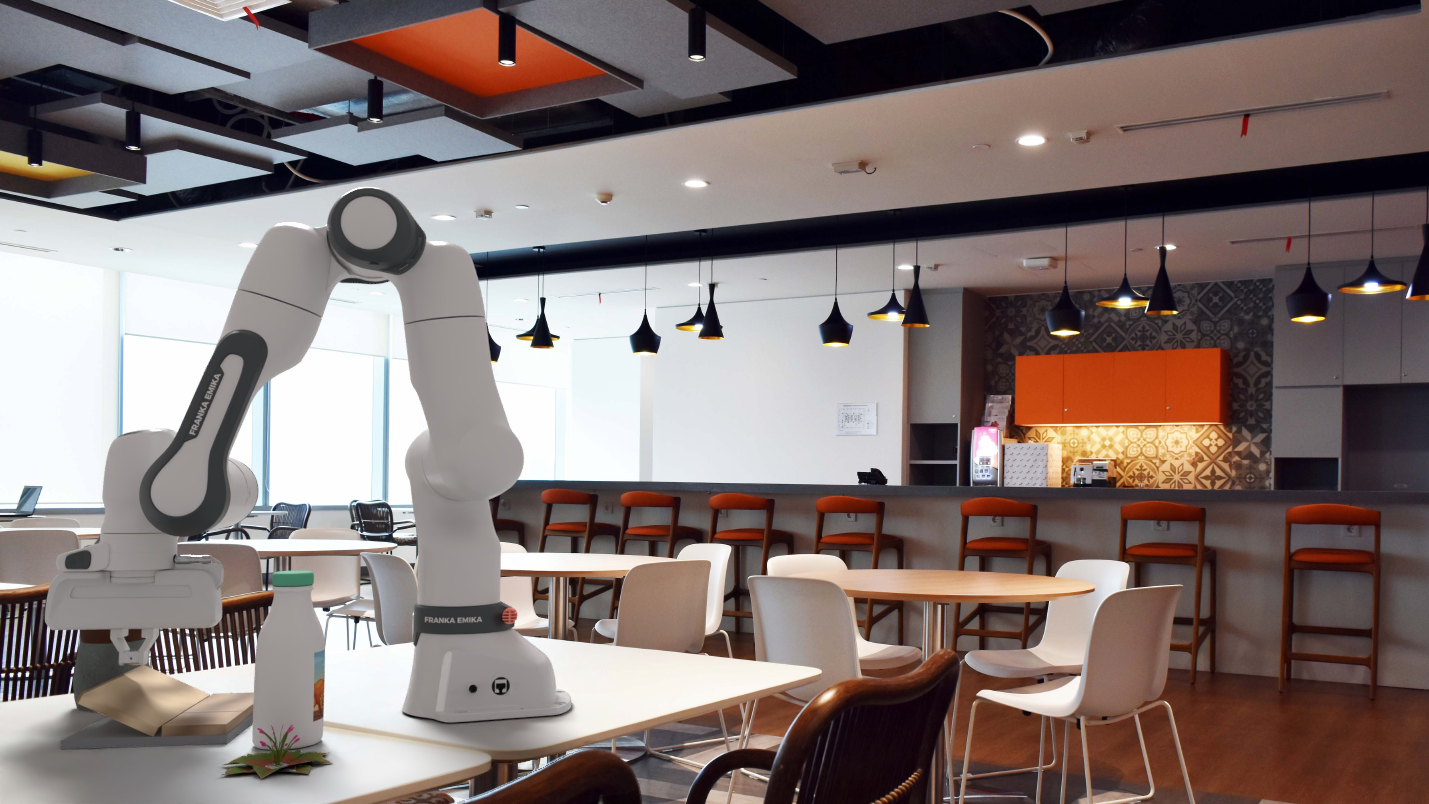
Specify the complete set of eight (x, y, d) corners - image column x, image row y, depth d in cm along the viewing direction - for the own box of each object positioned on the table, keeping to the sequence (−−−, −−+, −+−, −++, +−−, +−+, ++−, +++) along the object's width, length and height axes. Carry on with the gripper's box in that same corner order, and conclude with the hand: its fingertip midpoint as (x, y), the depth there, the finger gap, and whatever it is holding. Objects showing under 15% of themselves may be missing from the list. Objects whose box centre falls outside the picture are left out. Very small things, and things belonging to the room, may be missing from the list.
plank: (205, 702, 143) (210, 694, 143) (153, 736, 124) (158, 727, 124) (139, 672, 142) (143, 664, 142) (75, 702, 123) (80, 692, 123)
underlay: (270, 708, 144) (270, 700, 145) (227, 743, 125) (227, 734, 125) (127, 712, 142) (128, 704, 142) (60, 749, 122) (60, 740, 122)
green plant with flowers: (347, 755, 122) (348, 714, 122) (320, 783, 110) (322, 738, 110) (237, 757, 120) (239, 715, 121) (198, 786, 108) (200, 740, 109)
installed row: (268, 701, 144) (268, 691, 144) (226, 734, 125) (226, 723, 125) (213, 702, 143) (213, 693, 143) (161, 736, 124) (161, 725, 124)
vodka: (54, 710, 143) (65, 486, 145) (112, 697, 152) (121, 486, 154) (108, 714, 140) (118, 486, 142) (164, 701, 149) (173, 486, 151)
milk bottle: (298, 753, 120) (304, 574, 122) (237, 749, 122) (243, 573, 123) (335, 737, 128) (340, 569, 129) (277, 734, 129) (283, 568, 131)
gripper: (231, 553, 142) (227, 659, 140) (64, 553, 138) (58, 662, 137) (217, 556, 135) (212, 666, 134) (42, 557, 132) (35, 670, 131)
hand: (133, 664), depth 136 cm, fingers closed
